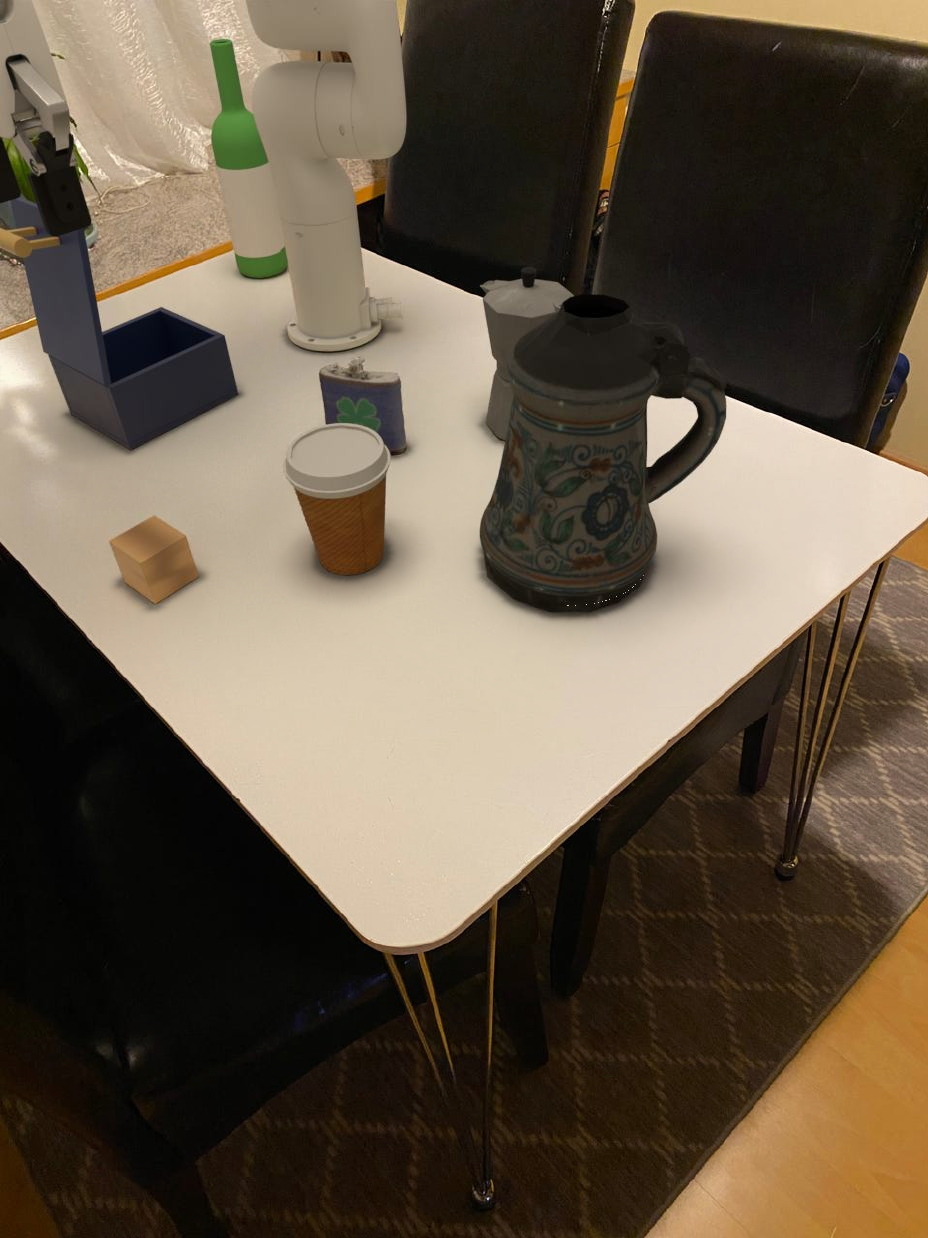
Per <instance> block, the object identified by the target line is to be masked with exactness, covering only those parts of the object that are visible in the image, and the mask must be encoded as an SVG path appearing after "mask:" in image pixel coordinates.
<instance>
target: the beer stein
mask: <svg viewBox="0 0 928 1238" xmlns="http://www.w3.org/2000/svg"><path fill="white" fill-rule="evenodd" d="M507 370H508V376H509V381H510V386H511V388H512V390H513V392H514V393H513V399H512V404H511V410H510V416H509V421H508V427H507V433H506V439H505V440H504V445H503V450H502V455H501V460H500V465H499V469H498V473H497V478H496V481H495V484H494V488H493V491H492V494H491V497H490V499H489V502H488V503H487V505H486V507H485V509H484V511H483V513H482V515H481V519H480V525H479V540H480V541H479V542H480V544H481V549H482V552H483V557H484V564H485V568H486V569H485V570H486V576H487V578H488V579H489V580H491V581H492V582H493V583H495V585H497V586H498V587H499V588H500V589H501V590H503V592H505V593H506V594H507V595H509V596H510V597H511V598H512V599H513V600H514V601H516V602H520V603H523V604H526V605H529V606H531V607H535V608H537V609H541V610H544V611H547V612H549V613H591V612H595V611H597V610H601V609H603V608H607V607H610V606H613V605H614V606H615V605H617V604H619V603H621V602H622V601H623V600H625V599H626V598H627V597H629V596H630V595H631V594H633V593H634V592H635V591H637V590H639V589H640V588H641V586H642V584H643V581H644V579H645V577H646V575H647V573H648V570H649V568H650V566H651V564H652V563H653V562H652V561H653V559H654V558H655V555H656V551H657V546H658V545H657V544H658V531H657V526H656V522H655V520H654V517H653V514H652V512H651V509H650V504H651V503H653V502H655V501H657V500H659V498H661V497H662V496H664V495H665V494H667V493H668V492H670V491H671V490H673V489H674V488H675V487H677V486H678V485H680V484H681V483H682V482H683V481H684V480H685V479H687V478H688V477H689V476H690V475H691V474H693V472H695V471H696V469H698V468H699V466H701V464H703V463H704V461H706V459H707V458H708V457H709V455H710V454H711V453H712V451H713V450H714V448H715V447H716V446H717V444H718V442H719V440H720V437H721V435H722V433H723V430H724V427H725V424H726V419H727V407H728V406H727V397H726V393H725V389H726V388H727V383H726V381H725V380H724V379H723V375H722V374H721V373H720V372H718V371H717V370H716V369H715V368H713V366H711V364H710V363H709V362H708V361H706V359H703V358H700V357H697V356H691V353H690V351H689V347H688V340H687V338H686V336H685V335H684V333H683V331H682V330H681V329H680V327H679V326H678V324H674V323H668V322H657V321H647V320H645V319H643V318H642V317H640V316H638V315H636V314H634V313H633V310H632V308H631V307H630V305H629V304H628V303H627V302H626V301H625V300H624V299H620V298H616V297H613V296H611V295H610V296H609V295H606V294H595V293H594V294H593V293H592V294H591V293H581V294H577V295H574V296H573V297H570V298H568V299H567V300H565V301H564V302H563V303H562V305H561V308H560V310H559V312H558V313H556V314H555V315H553V316H552V317H551V318H549V319H548V320H546V321H545V322H543V323H541V324H540V325H538V326H536V327H535V328H533V329H532V330H531V331H529V332H528V333H526V334H525V335H523V336H522V337H521V338H520V339H519V340H518V341H517V343H516V344H515V345H514V346H513V347H512V349H511V350H510V352H509V355H508V359H507ZM652 396H653V397H654V398H655V397H656V398H659V399H660V398H661V399H665V400H677V399H678V400H679V399H680V400H681V399H683V398H684V399H685V400H688V401H689V402H691V403H692V404H693V405H694V407H695V408H696V413H697V418H696V420H695V422H694V423H693V425H692V426H691V428H690V429H689V430H688V432H687V433H686V434H685V435H684V436H683V437H682V438H681V439H680V440H679V441H678V442H677V443H675V445H674V446H672V447H671V448H670V449H669V450H668V451H666V452H665V453H664V454H662V455H660V456H659V457H658V458H657V459H656V460H655V461H654V463H653V464H651V466H648V465H647V464H648V463H647V462H648V403H649V399H650V398H651V397H652ZM643 575H644V576H643ZM640 579H641V580H640ZM635 584H636V585H635ZM633 586H634V587H633ZM632 587H633V588H632ZM628 590H629V591H628ZM625 592H626V593H625ZM623 593H624V594H623ZM616 596H617V597H616ZM609 599H610V600H609ZM605 600H607V601H605ZM602 601H603V602H602ZM598 602H599V603H598ZM594 603H595V604H594ZM586 604H587V605H586ZM567 605H569V606H567ZM575 605H576V606H575Z"/></svg>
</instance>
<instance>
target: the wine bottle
mask: <svg viewBox="0 0 928 1238" xmlns="http://www.w3.org/2000/svg"><path fill="white" fill-rule="evenodd" d="M209 47H210V48H209V49H210V52H211V58H212V63H213V68H214V74H215V79H216V82H217V83H216V84H217V89H218V94H219V99H220V106H221V111H220V113H219V114H218V115H217V116H216V118H215V119H214V121H213V124H212V128H211V135H210V139H211V140H210V141H211V142H210V143H211V147H212V152H213V156H214V157H213V158H214V161H215V167H216V173H217V177H218V182H219V186H220V191H221V197H222V200H223V205H224V210H225V215H226V220H227V225H228V229H229V234H230V241H231V245H232V249H233V252H234V258H235V263H236V266H237V268H238V270H239V271H240V273H241V274H242V275H244V276H246V277H249V278H254V279H255V278H256V279H264V278H270V277H274V276H277V275H279V274H281V273H282V272H283V271H285V270H286V268H288V261H287V255H286V249H285V243H284V237H283V231H282V225H281V220H280V214H279V208H278V202H277V196H276V191H275V186H274V181H273V177H272V173H271V169H270V165H269V162H268V158H267V155H266V152H265V149H264V146H263V143H262V141H261V138H260V135H259V132H258V129H257V126H256V123H255V119H254V114H253V112H251V111H249V110H248V109H247V108H246V106H245V105H246V104H245V102H244V97H243V91H242V87H241V81H240V75H239V70H238V66H237V58H236V55H235V49H234V43H233V41H232V40H231V39H230V38H219V39H213V40H211V41H210V43H209Z"/></svg>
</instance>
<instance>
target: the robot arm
mask: <svg viewBox="0 0 928 1238" xmlns="http://www.w3.org/2000/svg"><path fill="white" fill-rule="evenodd" d="M245 3H246V7H247V12H248V15H249V19H250V23H251V26H252V29H253V31H254V33H255V35H256V36H257V38H258V39H259V41H260V42H261V43H263V44H265V45H266V46H268V47H271V48H274V49H280V50H288V51H306V52H307V51H308V52H344V53H346V54H348V56H349V58H350V61H351V62H341V61H339V62H338V61H337V62H336V61H335V62H334V61H332V62H331V61H326V60H325V61H323V60H320V61H319V60H318V61H317V60H289V61H288V60H287V61H282V62H278V63H277V62H276V63H274V64H271V65H269V66H267V67H266V68H265V69H263V70H262V71H261V72H260V73H259V74H258V75H257V77H256V78H255V81H254V84H253V87H252V93H251V108H252V114H254V119H255V123H256V126H257V129H258V132H259V135H260V138H261V141H262V143H263V146H264V149H265V152H266V155H267V158H268V162H269V165H270V169H271V173H272V177H273V181H274V186H275V191H276V196H277V202H278V208H279V214H280V220H281V225H282V231H283V237H284V243H285V249H286V255H287V261H288V264H287V267H288V271H289V278H290V284H291V288H292V289H291V290H292V294H293V295H292V296H293V301H294V307H295V313H296V314H295V315H293V317H291V319H289V321H288V323H287V328H286V330H287V334H288V338H289V340H290V341H291V342H292V343H293V344H295V345H296V346H298V347H300V348H302V349H306V350H310V351H316V352H339V351H345V350H350V349H353V348H357V347H360V346H362V345H365V344H367V343H369V342H371V341H372V340H373V339H374V338H376V337H377V336H378V335H379V333H380V332H381V329H382V319H383V320H384V319H389V320H394V319H403V311H402V302H395V303H394V300H393V297H382V298H376V296H371V291H370V290H371V289H370V287H369V286H366V279H365V271H364V261H363V254H362V245H361V244H362V243H361V236H360V235H361V234H360V227H359V225H360V224H359V219H358V218H359V217H358V208H357V207H358V206H357V198H356V193H355V190H354V187H353V184H352V182H351V179H350V177H349V176H348V173H347V172H346V170H345V168H344V167H343V166H342V164H341V162H340V161H339V160H338V159H349V160H384V159H385V160H386V159H390V158H392V157H393V156H395V155H396V154H397V153H398V152H399V151H400V150H401V148H402V147H403V145H404V141H405V138H406V133H407V102H406V101H407V100H406V99H407V98H406V88H405V87H406V86H405V78H404V76H405V75H404V66H403V52H402V41H401V32H400V20H399V9H398V0H245ZM36 11H37V10H36V8H35V6H34V3H33V1H32V0H0V204H3V203H6V202H7V203H8V202H10V200H14V199H17V198H19V197H21V196H22V191H21V187H20V186H19V182H18V180H17V177H16V174H15V171H14V168H13V166H12V163H11V159H10V157H9V153H8V151H7V148H6V145H5V143H4V139H8V140H9V139H10V140H11V141H12V142H13V144H14V146H15V147H16V148H17V150H18V152H19V154H20V155H21V156H22V158H23V159H24V161H25V163H26V164H27V166H28V167H29V168H30V170H31V173H27V174H26V177H27V180H28V183H29V186H30V189H31V192H32V195H33V197H34V199H35V203H36V204H37V207H38V209H39V212H40V215H41V218H42V221H43V224H44V227H45V230H46V232H47V234H49V235H51V236H53V237H58V236H61V235H64V234H67V233H70V232H73V231H76V230H79V229H82V228H84V229H85V228H88V227H90V226H91V225H92V216H91V214H90V211H89V207H88V204H87V200H86V198H85V194H84V190H83V188H82V184H81V181H80V177H79V174H78V171H77V168H76V166H77V164H78V159H77V156H76V153H75V152H74V147H75V137H74V134H72V133H71V121H70V118H71V117H70V115H71V114H70V109H69V105H68V102H67V99H66V95H65V92H64V89H63V86H62V83H61V79H60V77H59V74H58V71H57V68H56V64H55V62H54V59H53V57H52V54H51V53H52V52H51V50H50V47H49V44H48V42H47V38H46V36H45V32H44V30H43V28H42V25H41V22H40V19H39V17H38V14H37V12H36ZM34 137H38V140H37V141H38V142H37V148H36V146H35V145H34V144H33V143H32V141H31V138H34Z"/></svg>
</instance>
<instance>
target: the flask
mask: <svg viewBox="0 0 928 1238" xmlns="http://www.w3.org/2000/svg"><path fill="white" fill-rule="evenodd" d="M365 362H366V359H365V357H362V356H360V355H359V356H357V358H352V359H351V358H350V359H349V361H348V362H347V364H348V367H345V366H342V365H339V364H338V363H333V364H329V365H325V366H322V367H321V368H320V369H319V371H318V379H319V385H320V392H321V397H322V404H323V412H324V419H325V425H328V424H335V423H350V424H357V425H361V426H364V427H368V428H370V429H372V430H374V431H375V432H376V433H378V434H379V436H380V437H381V438H382V440H383V443H384V444H385V445H386V447H387V448H388V450H389V452H390V456H392V455H401V454H402V453H404V452H405V451H406V449H407V436H406V429H405V417H404V411H403V399H402V398H403V397H402V381H401V377H400V375H399V374H398V373H397V372H393V371H373V370H372V371H369V370H364V363H365Z"/></svg>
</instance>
